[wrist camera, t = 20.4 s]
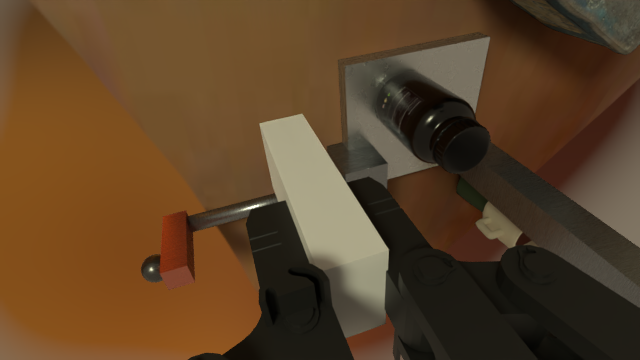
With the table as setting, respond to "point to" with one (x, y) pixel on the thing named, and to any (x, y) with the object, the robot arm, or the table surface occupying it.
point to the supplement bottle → (432, 122)
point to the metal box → (591, 20)
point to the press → (487, 176)
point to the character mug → (493, 218)
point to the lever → (190, 240)
